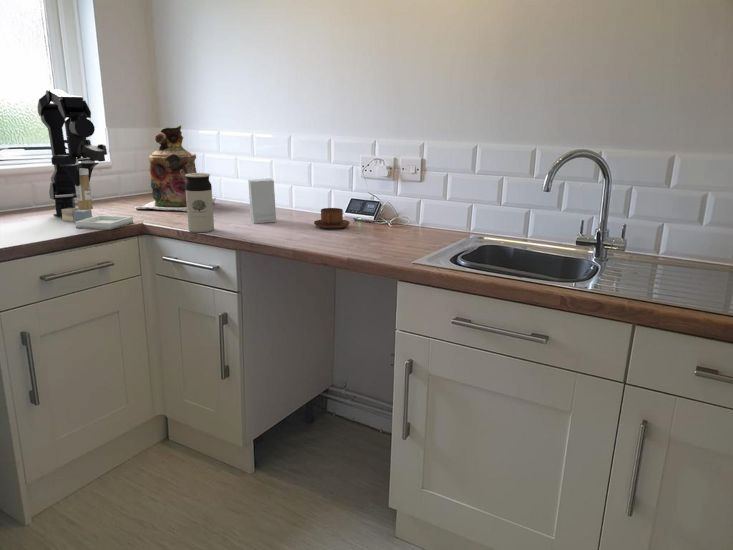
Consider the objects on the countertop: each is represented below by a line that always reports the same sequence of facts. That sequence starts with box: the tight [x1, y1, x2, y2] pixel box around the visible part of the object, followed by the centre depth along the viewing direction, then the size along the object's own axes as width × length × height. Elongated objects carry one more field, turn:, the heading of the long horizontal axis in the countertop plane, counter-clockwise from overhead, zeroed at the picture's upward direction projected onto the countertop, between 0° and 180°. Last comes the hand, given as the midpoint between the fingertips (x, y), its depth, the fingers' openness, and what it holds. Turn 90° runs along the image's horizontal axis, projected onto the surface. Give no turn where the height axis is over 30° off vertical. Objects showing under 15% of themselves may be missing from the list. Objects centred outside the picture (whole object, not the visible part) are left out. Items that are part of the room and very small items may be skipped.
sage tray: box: [74, 214, 134, 230], centre depth 190 cm, size 13×13×2 cm
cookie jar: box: [134, 124, 217, 212], centre depth 225 cm, size 25×25×32 cm
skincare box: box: [247, 177, 277, 225], centre depth 197 cm, size 8×6×15 cm
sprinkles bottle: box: [75, 168, 94, 211], centre depth 186 cm, size 5×5×13 cm
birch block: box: [61, 207, 78, 222], centre depth 198 cm, size 4×4×4 cm
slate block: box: [73, 209, 93, 223], centre depth 195 cm, size 4×4×4 cm
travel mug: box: [185, 172, 215, 233], centre depth 181 cm, size 8×8×18 cm
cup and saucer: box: [313, 207, 350, 230], centre depth 190 cm, size 12×12×6 cm
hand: (82, 185), depth 186 cm, fingers closed on sprinkles bottle, 4 cm apart
